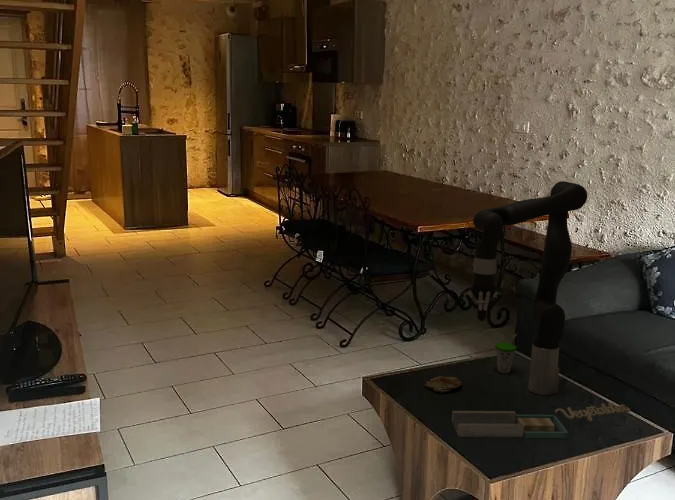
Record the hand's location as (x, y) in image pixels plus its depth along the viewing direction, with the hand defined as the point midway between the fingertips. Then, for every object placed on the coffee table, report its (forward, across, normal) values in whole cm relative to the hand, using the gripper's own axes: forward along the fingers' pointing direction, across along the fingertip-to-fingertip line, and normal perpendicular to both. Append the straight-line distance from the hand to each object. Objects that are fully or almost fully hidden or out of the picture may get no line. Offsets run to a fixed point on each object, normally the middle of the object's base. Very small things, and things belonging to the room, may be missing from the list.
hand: (481, 320), depth 222 cm
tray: (+29, -15, +23) cm, 40 cm away
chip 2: (+28, -16, +23) cm, 40 cm away
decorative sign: (+30, -38, +10) cm, 49 cm away
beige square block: (+28, -11, +23) cm, 38 cm away
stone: (+30, +9, -9) cm, 32 cm away
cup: (+29, -17, -25) cm, 42 cm away
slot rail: (+29, +2, +23) cm, 37 cm away
